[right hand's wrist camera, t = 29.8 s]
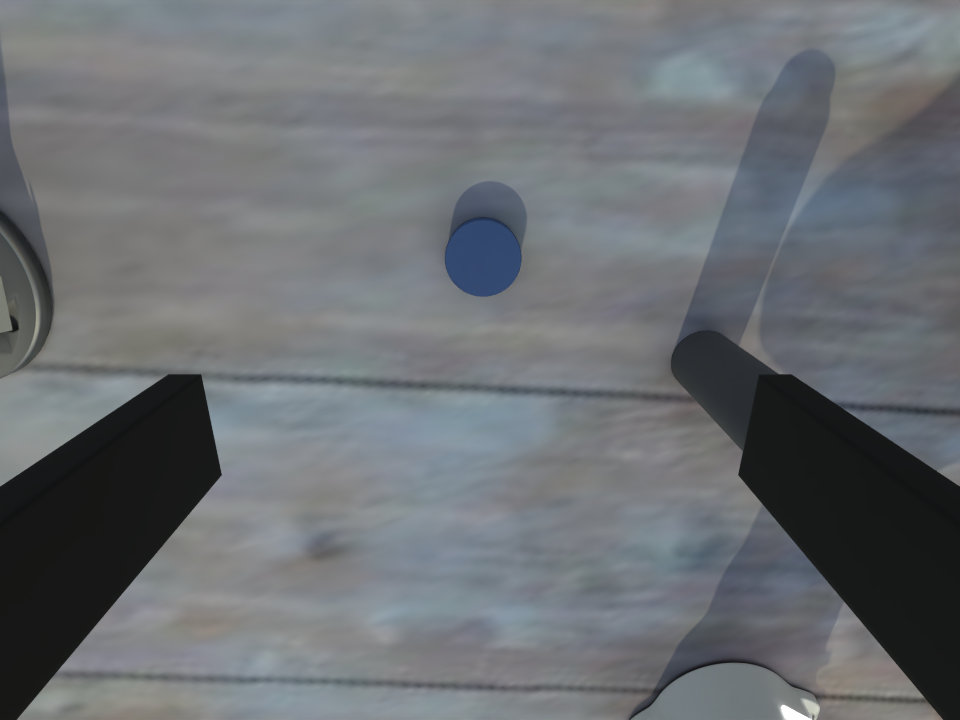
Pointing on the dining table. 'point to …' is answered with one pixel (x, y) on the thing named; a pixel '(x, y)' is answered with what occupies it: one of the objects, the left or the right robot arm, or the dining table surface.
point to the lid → (483, 257)
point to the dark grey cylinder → (719, 379)
